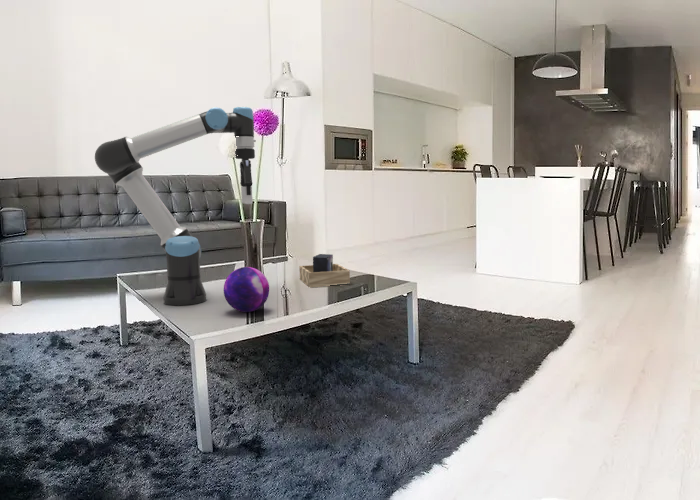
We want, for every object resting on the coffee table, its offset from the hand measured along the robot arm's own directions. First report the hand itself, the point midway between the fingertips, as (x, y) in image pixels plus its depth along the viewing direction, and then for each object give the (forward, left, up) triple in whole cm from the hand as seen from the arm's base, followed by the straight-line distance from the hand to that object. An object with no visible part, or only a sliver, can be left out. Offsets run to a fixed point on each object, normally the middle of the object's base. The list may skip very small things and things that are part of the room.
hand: (246, 203), depth 224 cm
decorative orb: (-37, +5, -35) cm, 51 cm away
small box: (+8, -32, -34) cm, 47 cm away
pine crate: (+8, -32, -35) cm, 48 cm away
